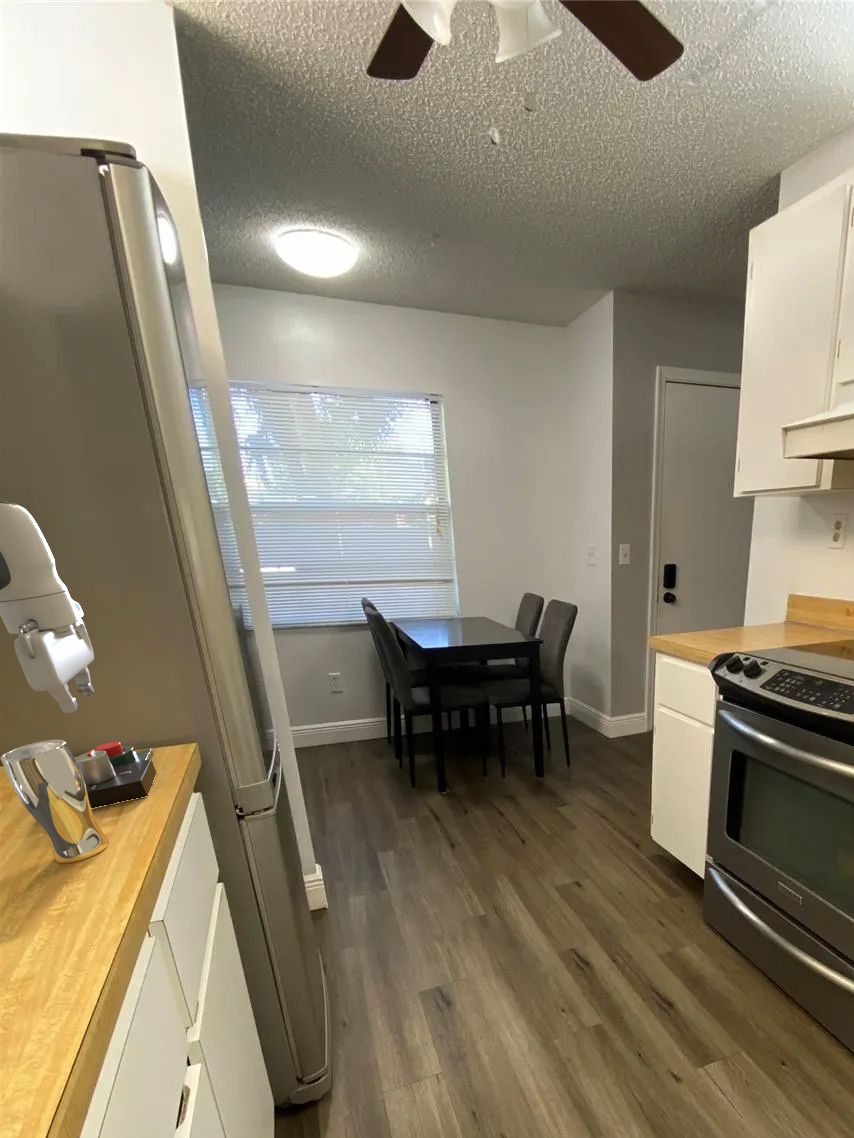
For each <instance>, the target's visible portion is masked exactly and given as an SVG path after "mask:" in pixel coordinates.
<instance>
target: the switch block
mask: <svg viewBox="0 0 854 1138" xmlns="http://www.w3.org/2000/svg"><path fill="white" fill-rule="evenodd" d="M121 746H122V748H123V752H121V753H120V754H117V755H114V756H110V757H108V758H109V760H110V762H111V764H112V767H115V766H120V765H125V764H129V763H134V762H139V761H143V760H148V759H151V760H152V757H153V755H154V756H155V754H154V751H153V749H152V747H150V748H146V749H140V750H136V749H135V747H134V746H132V745H128V744H127V745H121Z"/></svg>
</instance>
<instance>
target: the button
mask: <svg viewBox="0 0 854 1138" xmlns="http://www.w3.org/2000/svg"><path fill="white" fill-rule="evenodd" d="M122 746H123V745H122V744H121V742H120V741H110V742H106V743H102V744H100V745H98V746H96V747H95V751H106V753H107V755H108V757H110V756H114V755H117V754H120V753H121V752H123V748H122Z"/></svg>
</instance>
